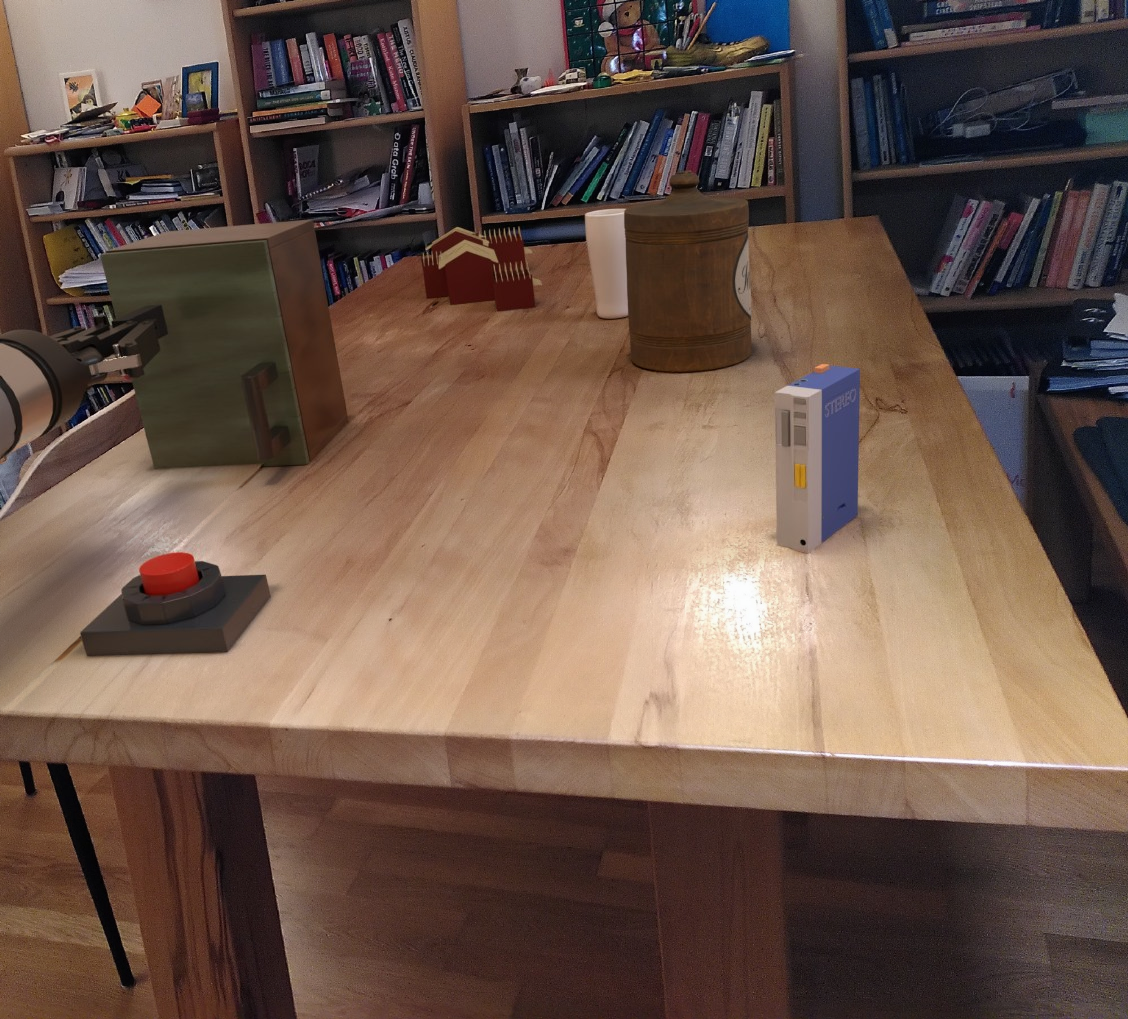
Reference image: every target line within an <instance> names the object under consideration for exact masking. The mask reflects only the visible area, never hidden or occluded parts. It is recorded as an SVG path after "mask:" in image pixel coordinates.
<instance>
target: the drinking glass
mask: <svg viewBox="0 0 1128 1019" xmlns="http://www.w3.org/2000/svg"><path fill="white" fill-rule="evenodd" d="M626 209H627V208H607V209H599V210H598V209H597V210H593V211H589V212H586V213H584V230H585V241H586V242H585V243H586V249H587V256H588V261H589V267H590V274H591V280H592V287H593V294H594V298H595V308H596V316H598V317H599V318H601V319H605V320H616V319H622V318H626V317H628V300H627V271H626V241H625V240H626V238H625V228H624V211H625V210H626Z"/></svg>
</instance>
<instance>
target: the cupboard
mask: <svg viewBox="0 0 1128 1019" xmlns="http://www.w3.org/2000/svg"><path fill="white" fill-rule="evenodd" d="M261 240H267V244H268V249H269V255H270V260H271V265H272V270H273V275H274V280H275V285H276V291H277V296H278V301H279V306H280V311H281V316H282V322H283V327H284V332H285V337H286V342H287V347H288V352H289V358H290V363H291V368H292V373H293V378H294V383H295V389H296V394H297V399H298V404H299V409H300V414H301V419H302V425H303V430H304V435H305V440H306V445H307V450H308V456H309V461H310V462H309V463H311V462H313V460H314V459H315V458H316V457H317V456H318V455H319V454H320V453H321V452H322V451H323V450H324V449H325V448H326V446H328V444H329V443H330V442H331V441H332V440H334V438H335V437H336V436H337V435H338V434H339V433H340V431H342V430H343V429H344V428H345V426H346V425H347V424H349V423H350V422H349V415H348V410H347V404H346V399H345V393H344V388H343V381H342V377H341V370H340V365H339V359H338V353H337V347H336V341H335V337H334V336H335V335H334V331H333V324H332V320H331V315H330V314H331V313H330V308H329V301H328V296H327V291H326V285H325V280H324V274H323V267H322V264H321V263H322V262H321V257H320V252H319V245H318V240H317V233H316V229H315V223H314V219H302V220H301V219H300V220H291V221H277V222H267V223H266V222H265V223H254V224H240V225H230V226H219V227H218V226H217V227H207V228H204V227H203V228H193V229H181V230H170V231H169V230H168V231H165V232H161V233H158V234H155V235H151V236H149V237H145V238H142V239H140V240H136V241H132V242H130V243H126V244H123V245H120V246H117V247H114V248H110V249H107V250H105V252H104V253H113V252H125V251H138V250H150V249H162V248H175V247H187V246H199V245H211V244H224V243H236V242H248V241H261Z"/></svg>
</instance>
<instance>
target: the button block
mask: <svg viewBox="0 0 1128 1019" xmlns="http://www.w3.org/2000/svg"><path fill="white" fill-rule="evenodd" d="M195 564H196V568H197V572H198V576H199V582H198V583H197V584H196V585H194V586H192V587H190V588H188V589H186V590H184V591H181V592H177V593H173V594H169V595H160V596H149V595H146V594H145V591H144V587H143V583H142V579H141V576H140V574H138V575H137V576H134V577H132V578H131V579H130V580H129V581H128V582H127V583H126V584H125V585H124V586H122V588H121V590H120V591H121V592H120V593H121V594H119V595H118V596H117V597H116V598H115V599H114V600H113V601H112V602H110V604H109V605H107V607H105V609H104V610H102V611H101V612H100V613H99V614H98V615H97V616H96V617H95V618H94V619H93V620H92V621H91V622H89V623H88V624H87V625H86V626H85V627H84V628H83V629H82V630H81V631H80V632H79V635H80V638H81V641H82V645H83V648H84V651H85V654H86V657H107V656H108V657H109V656H111V657H113V656H144V655H145V656H146V655H151V656H152V655H180V654H181V655H182V654H187V655H188V654H218V653H222V654H223V653H224V654H225V653H228V652H229V651H230V650H231V649H232V648H233V646H234V645H235V644H236V642H237V641H238V639H240V637H241V636H242V635H243V633H244V632H245V631H246V630H247V628H248V627H249V626H250V624H251V623H252V622H253V621H254V619H255V618H256V616H257V615H258V614H259V613H260V612H261V611H262V609H263V608H264V606H266V604H267V603H268V601H269V600H270V599H271V597H272V596H271V591H270V586H269V582H268V577H267V574H243V575H222V573H221V570H220V567H219V565H217V564H214V563H211V562H207V561H204V560H195Z"/></svg>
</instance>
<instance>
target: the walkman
mask: <svg viewBox="0 0 1128 1019" xmlns="http://www.w3.org/2000/svg"><path fill="white" fill-rule="evenodd" d="M860 389H861V369H860V368H858V367H857V368H855V367H848V366H838V365H830V364H827V363H821V364H819V365H817V366H815V367H814V371H813V372H811V373H808V374H807V375H805V376H803V377H801V378H799V379H797V380H795V381H793V382H791V383H789V384H787V385H785V386H784V387H781V388H780V389H777V391H774V437H775V438H774V440H775V444H774V446H775V447H774V448H775V492H776V493H775V503H776V504H775V507H776V508H775V509H776V511H775V512H776V513H775V514H776V545H777V546H780V547H784V548H789V549H791V551H795V552H801V553H805V554H810V553H811V552H812V551H814V550H815V549H816V548H818V547H819V546H820V545H822V543H824V542H825V541H827V539H829V538H830V537H832V536H833V535H835V533H837V532H838V531H839V530H841V529H842V528H843V527H844V526H846V525H847V524H848V523H850V522H851V521H853V520H854V519H855V518H856V517H858V515H859V511H858V510H859V454H860V451H859V450H860V446H859V445H860V400H861V399H860V395H861V394H860V393H861V390H860Z"/></svg>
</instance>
